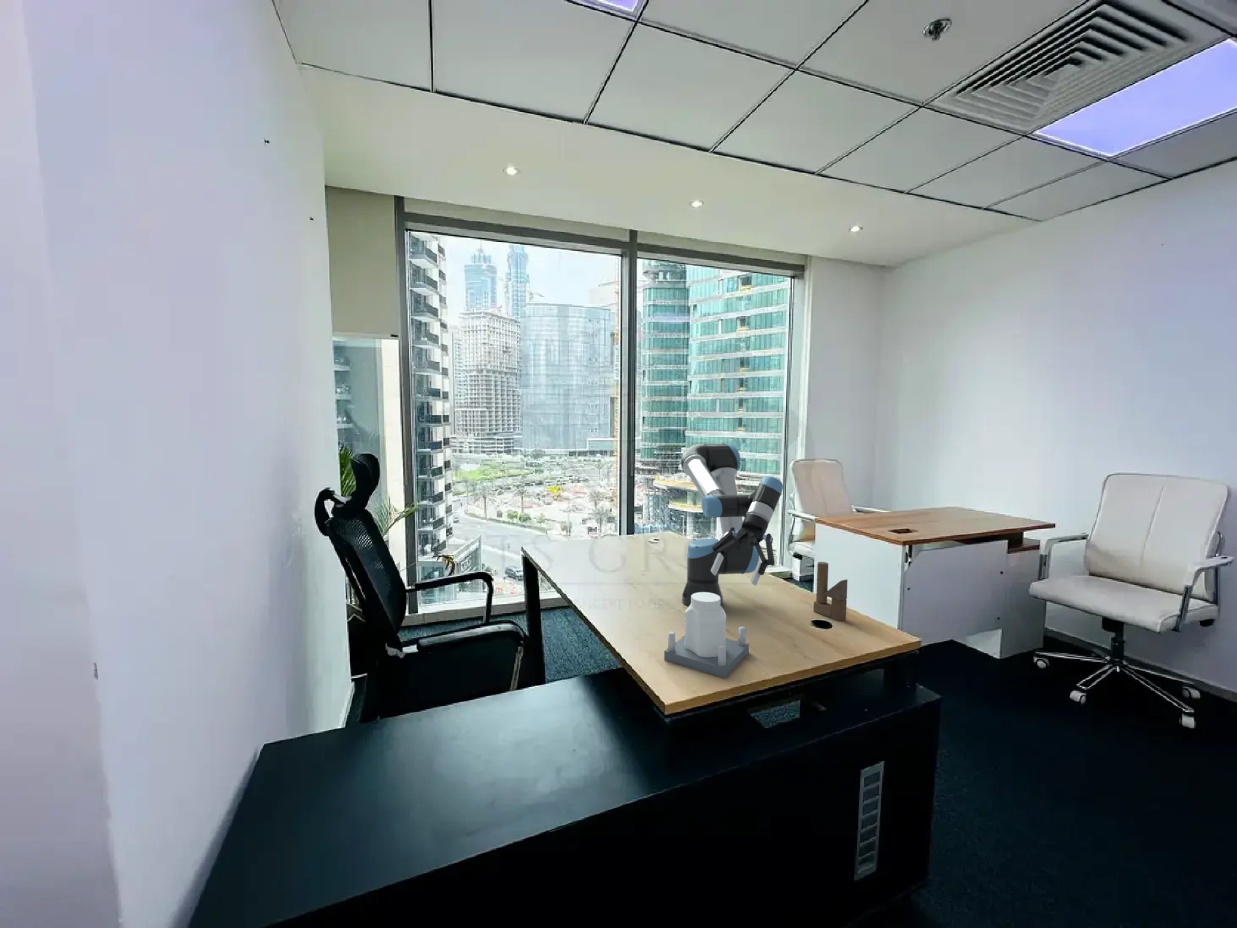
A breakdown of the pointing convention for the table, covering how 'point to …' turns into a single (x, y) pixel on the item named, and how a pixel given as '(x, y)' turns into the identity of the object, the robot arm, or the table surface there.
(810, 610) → the table surface
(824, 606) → the wooden block
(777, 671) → the table surface
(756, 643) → the table surface
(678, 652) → the peg board
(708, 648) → the jar
